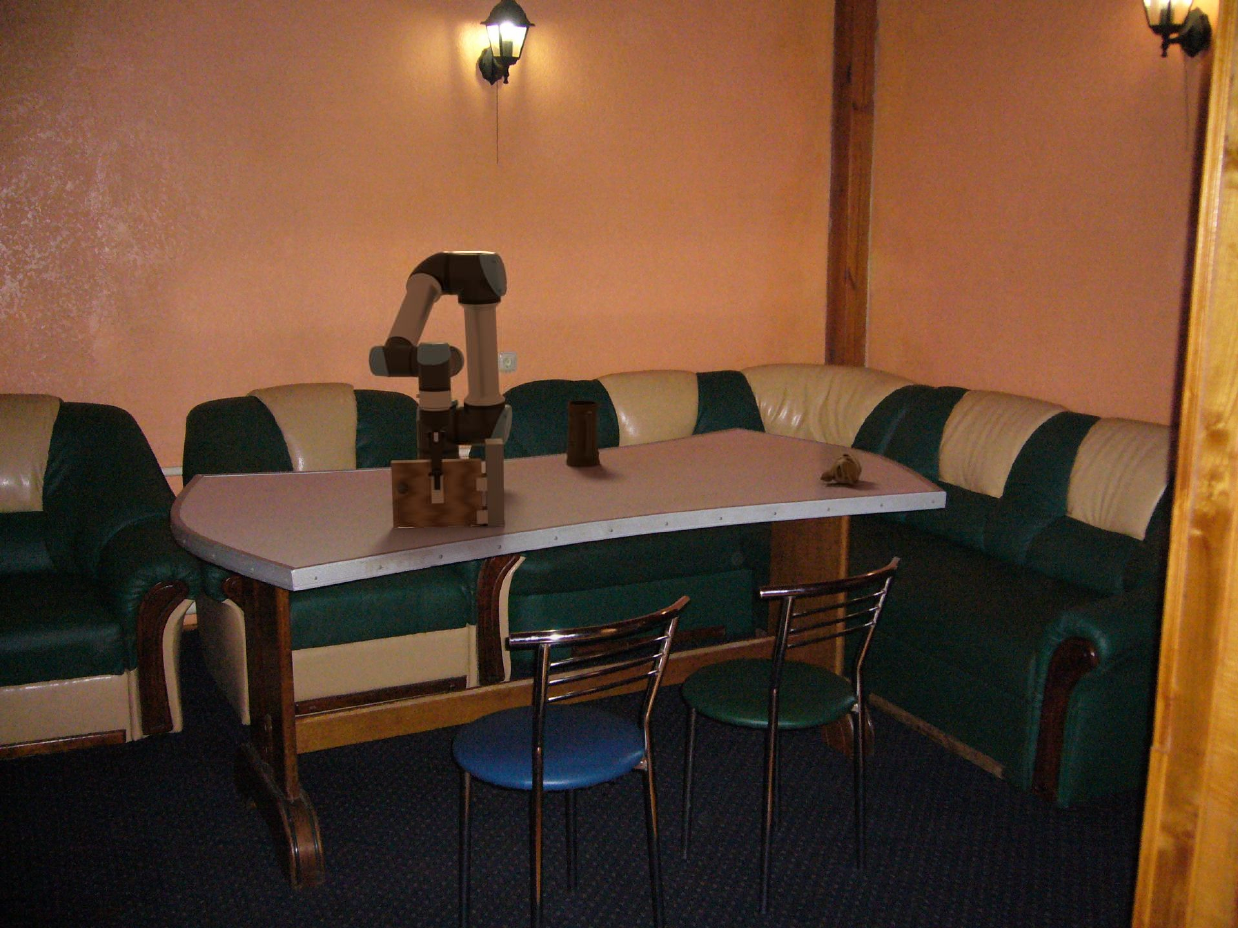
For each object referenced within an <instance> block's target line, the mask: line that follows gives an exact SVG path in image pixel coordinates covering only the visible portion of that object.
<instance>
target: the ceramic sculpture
mask: <svg viewBox="0 0 1238 928" xmlns="http://www.w3.org/2000/svg"><path fill="white" fill-rule="evenodd" d="M862 471H863V467H862V465H861V462H860V461H859V460H858V458H857V457H856V456H855V455H854V454H853V453H851V454H847V453H843V454H842V455H841V456H840V457H839V458H838V459H836V460H835V461H834V462H833V463H832V465H831V468H830V469H828V470H827V469H826V470H825V471H824V472H823V473H822V475H821V477H819V479H820V480H821V481H823V482H828V483H829V482H832V481H834V482H835V483H837V484H841V485H842V484H843V485H847V484H849V485H855V484H857V483H858V482H859V479H860V476H861V473H862Z"/></svg>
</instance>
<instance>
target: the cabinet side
mask: <svg viewBox="0 0 1238 928" xmlns="http://www.w3.org/2000/svg"><path fill="white" fill-rule="evenodd" d="M484 454H485V455H484V456H485V457H484V458H485V461H484V462H485V465H484V466H485V472H482V477H481V478H476V490H477V491H482V492H485V504H482V510H477V524H483V525H484V524H487V527H488V526H492V527H501V526H500V525H505V473H504V471H505V470H504V469H505V468H504V467H505V466H504V459H505V458H504V445H503V441H502V439H485V446H484ZM505 526H506V525H505Z"/></svg>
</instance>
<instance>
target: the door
mask: <svg viewBox="0 0 1238 928" xmlns="http://www.w3.org/2000/svg"><path fill="white" fill-rule="evenodd" d="M482 466H483V465H482V458H479V457H478V458H477V457H476V458H461V459H442V471H443V498H444V503H432V492H431V476H428V472H431V471H432V470H431V460H416V459H405V460H403V459H402V460H401V459H400V460H396V459H395V460H394V459H393V460H391V462H390V468H391V469H390V473H391V474H390V475H391V497H392V525H393V527H392V529H393V528H398V527H438V528H449V527H448V526H466V527H472V526H471V525H484V523H483V524H477V510H482V505H483V491H477V490H476V478H481V477H482V473H483V471H482Z"/></svg>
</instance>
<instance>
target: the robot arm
mask: <svg viewBox="0 0 1238 928" xmlns="http://www.w3.org/2000/svg"><path fill="white" fill-rule="evenodd" d="M503 261H504V260H503V258H502V257H501V256H500V254H499V253H497V252H494V251H484V250H483V251H482V250H481V251H480V250H477V251H475V250H472V251H468V250H467V251H465V250H464V251H463V250H462V251H461V250H460V251H451V250H447V251H446V250H444V251H440V252H439V251H438V252H436V253H434V254H431V255H430V256H427V257H426V258H425V259H423V260H421V262H420V263H419V264H418V265H417V266H416V267H414V268H413V270H412V271H411V272H410V274H409V276H408V277H407V281H406V283H405V291H406V293H405V294H404V295H405V296H404V298H403V300H402V303H401V304H400V307H399V310H398V313H397V315H396V317H395V319H394V322H393V325H392V326H391V329H390V331H389V334H388V336H387V339H386V340H385V342H384V345H382V344H380V345H374V346H372V347H371V348H370V350H369V354H368V366H369V370H370V373H371V374H372V375H374V376H376V377H384V378H385V377H386V378H417V381H418V383H417V384H418V393H417V394H416V396H415V397H416V399H418V405H417V408H416V418H415V422H416V440H417V441H416V442H417V455H416V458H415V460H431V470H432V471H431V472H428V476H431V492H432V503H444V498H443V471H442V459H462V458H461V456H460V446H464V447H465V446H467V447H469V446H471V447H477V446H478V447H485V439H502V441H503V446H504V445H505V444H506V443H507V442H508V441H509V440H508V439H509V436H510V433H511V428H512V420H513V409H512V405H510V404H506V398H505V396H504V395H503V394H501V392H500V380H499V379H500V377H499V353H498V331H497V330H498V329H497V307H498V306H499V305H500V304H501V303H502V297H503V296H505V295H507V292H508V286H507V284H508V280H507V279H508V277H507V273H506V267H505V263H504V262H503ZM442 296H457V303H458V305H460V306H461V307H462V308H463V314H464V317H463V318H464V334H465V351H466V352H465V353H466V371H467V390H468V391H467V392H468V393H467V395H466V396H465V397H464V398H463V401H462V402H463V404H462V403H460V402H459V399H458V398H453V397H452V386H451V385H452V379H451V378H453V377H455V376H458V374H459V373H460V372H461V371H462V370H463V369H464V367H465V366H464V365H465V356H464V355H463V352H462V351H461V349H459V348H458V347H456V346H454V345H450V343H448V342H446V341H440V340H439V341H436V340H435V341H434V340H432V341H422V342H420V343H419V341H420V339H421V337H422V334H423V332H424V330H425V327H426V324H427V322H428V319H429V317H430V314H431V312H432V309H433V307H434V304H435V303H437V302H438V301H439V300H440V299H441V297H442Z"/></svg>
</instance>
